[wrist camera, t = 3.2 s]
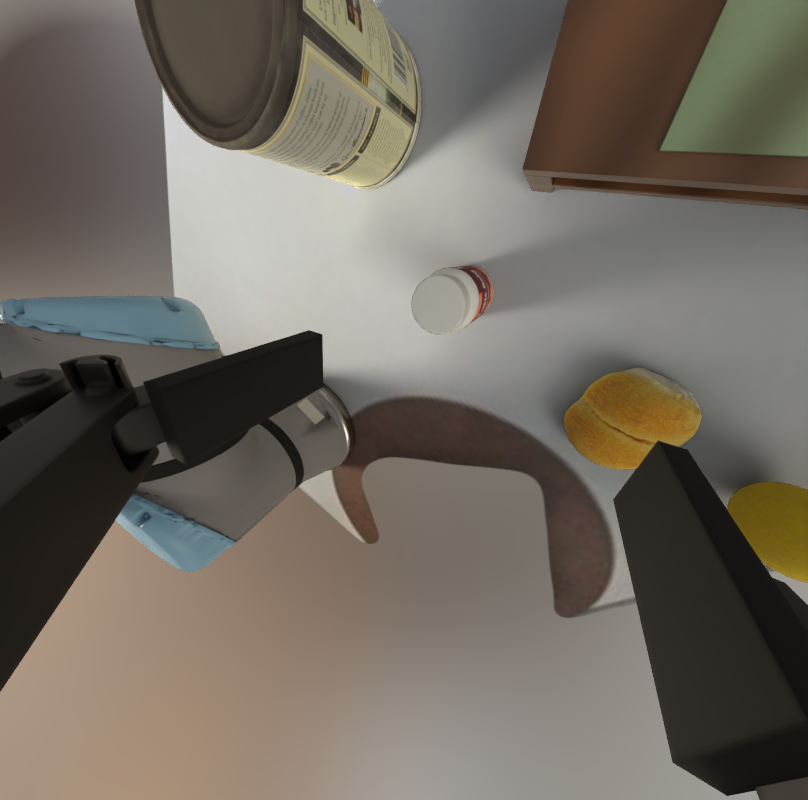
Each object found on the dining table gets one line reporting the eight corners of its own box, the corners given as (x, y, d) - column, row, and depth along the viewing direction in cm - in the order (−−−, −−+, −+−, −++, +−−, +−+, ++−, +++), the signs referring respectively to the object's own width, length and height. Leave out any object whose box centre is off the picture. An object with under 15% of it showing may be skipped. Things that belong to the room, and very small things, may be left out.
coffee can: (302, 131, 27) (118, 44, 16) (361, -16, 21) (129, -332, 10) (371, 218, 28) (241, 194, 16) (449, 100, 21) (326, -70, 10)
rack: (531, 191, 21) (521, 168, 16) (594, -22, 16) (612, -170, 11) (919, 225, 15) (1140, 209, 9) (1219, -104, 10) (2110, -586, 4)
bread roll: (548, 427, 28) (546, 449, 25) (615, 351, 23) (624, 366, 20) (629, 473, 27) (638, 503, 24) (721, 403, 22) (749, 428, 19)
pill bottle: (498, 311, 26) (477, 332, 19) (450, 324, 28) (416, 345, 22) (488, 257, 25) (461, 258, 18) (438, 274, 27) (398, 281, 20)
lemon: (780, 450, 21) (874, 534, 15) (831, 503, 21) (947, 610, 15) (693, 478, 25) (739, 556, 18) (737, 524, 25) (799, 619, 18)
